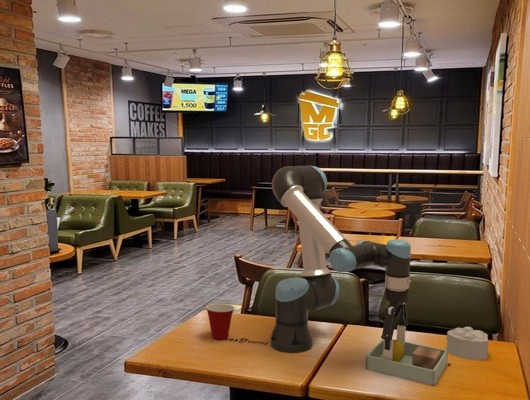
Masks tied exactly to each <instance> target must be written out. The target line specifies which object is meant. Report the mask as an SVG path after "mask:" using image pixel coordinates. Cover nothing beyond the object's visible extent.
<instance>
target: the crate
mask: <svg viewBox="0 0 530 400" xmlns="http://www.w3.org/2000/svg"><path fill="white" fill-rule="evenodd" d="M392 339H393V340H396V338H395V339H394V338H392ZM418 346H420V347H424V348H429V349H434V350H439V351H441V356H440V360H439V362H438V363H437V365H436V366H435V368H434V369H433V370H430V369H426V368H421V367H417V366H413V365H412V354H413V352H414V351H415V350H416V349H417V347H418ZM403 347H404V357H403V359H402V360H401V361H400V362H395V361H391V360H389V359H385V358H383V350H384V339H381V340H380V341H379V342H378V343H377V344H376V345H375V346H374V347H373V348H372V349H371V350H370V351H369V352H368V353H367V354H366V355H365V370H369V371H372V372H377V373H380V374H385V375H389V376H392V377H397V378H401V379H405V380H409V381H413V382H417V383H421V384H425V385H429V386H435V385H436V383H437V381H438V380H439V378H440V376H441V375H442V373H443V372H444V371H445V369H446V367H447V365H448V361H449V360H448V357H449V352H448V350H447V349H441V348H438V347H432V346H428V345H423V344H419V343H418V344H417V343H413V342H410V341H409V342H408V341H405V345H403Z"/></svg>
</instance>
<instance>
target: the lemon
mask: <svg viewBox="0 0 530 400" xmlns="http://www.w3.org/2000/svg"><path fill="white" fill-rule="evenodd" d="M403 357H404V347H403V345H402V343H401V342H399V341H397V340H396V339H395V340H393V354H392V360H391V361H395V362H400V361H401V360H402V359H403Z"/></svg>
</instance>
